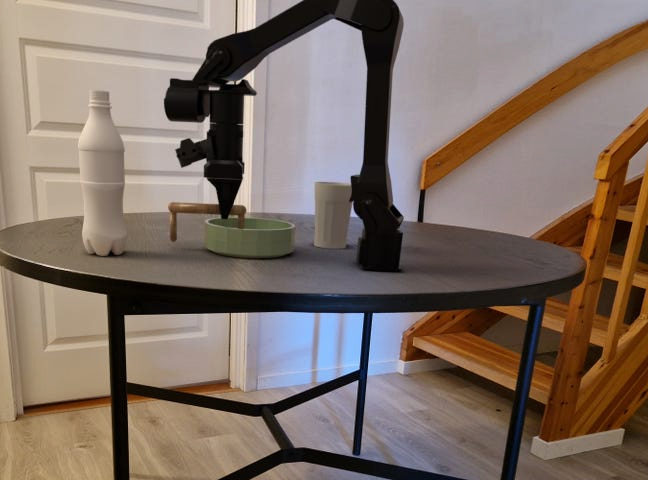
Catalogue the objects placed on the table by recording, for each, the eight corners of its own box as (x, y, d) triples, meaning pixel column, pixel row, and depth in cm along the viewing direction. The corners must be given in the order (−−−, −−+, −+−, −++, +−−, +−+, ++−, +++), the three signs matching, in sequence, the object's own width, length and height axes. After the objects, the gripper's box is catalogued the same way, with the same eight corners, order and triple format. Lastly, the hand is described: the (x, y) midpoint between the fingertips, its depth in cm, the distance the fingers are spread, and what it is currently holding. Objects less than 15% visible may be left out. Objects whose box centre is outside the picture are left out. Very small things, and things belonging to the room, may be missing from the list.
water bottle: (73, 252, 102) (64, 88, 93) (105, 247, 108) (100, 92, 99) (105, 259, 98) (98, 89, 90) (136, 253, 104) (133, 93, 96)
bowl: (290, 245, 120) (292, 219, 119) (295, 261, 105) (297, 232, 104) (208, 241, 120) (208, 215, 118) (201, 256, 105) (201, 227, 103)
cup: (336, 251, 117) (342, 185, 113) (302, 245, 122) (306, 182, 118) (357, 246, 123) (363, 184, 119) (323, 241, 128) (328, 181, 124)
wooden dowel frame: (166, 243, 108) (165, 203, 105) (170, 239, 113) (169, 200, 110) (266, 248, 108) (267, 207, 106) (265, 243, 113) (267, 204, 111)
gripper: (184, 122, 112) (184, 210, 117) (171, 120, 95) (172, 223, 100) (245, 125, 113) (243, 213, 118) (243, 123, 95) (241, 226, 100)
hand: (224, 218), depth 109 cm, fingers closed on wooden dowel frame
